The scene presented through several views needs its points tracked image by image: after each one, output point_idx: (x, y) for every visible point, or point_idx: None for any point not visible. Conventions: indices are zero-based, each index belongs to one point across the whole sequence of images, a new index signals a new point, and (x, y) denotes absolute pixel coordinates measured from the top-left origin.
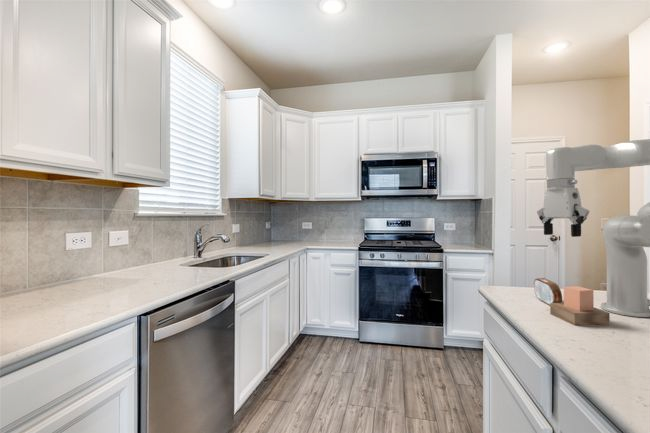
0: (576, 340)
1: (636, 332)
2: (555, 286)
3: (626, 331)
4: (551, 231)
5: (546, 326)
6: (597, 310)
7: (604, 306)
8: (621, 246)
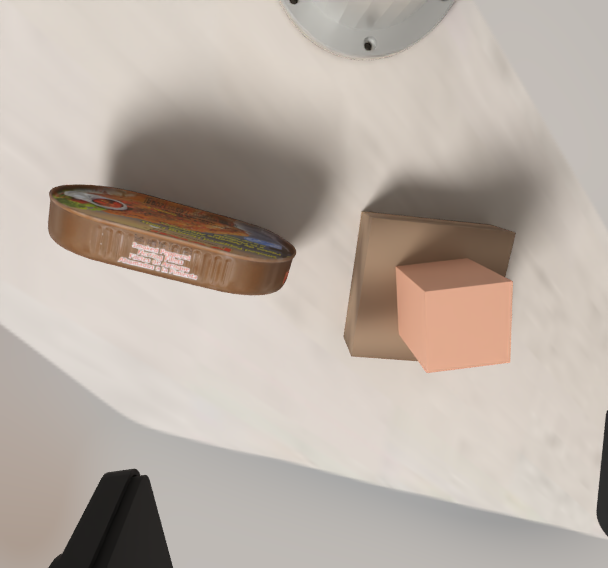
0: (557, 433)
1: (565, 200)
2: (264, 272)
3: (549, 225)
4: (137, 537)
5: (450, 436)
6: (479, 250)
7: (333, 43)
8: None
